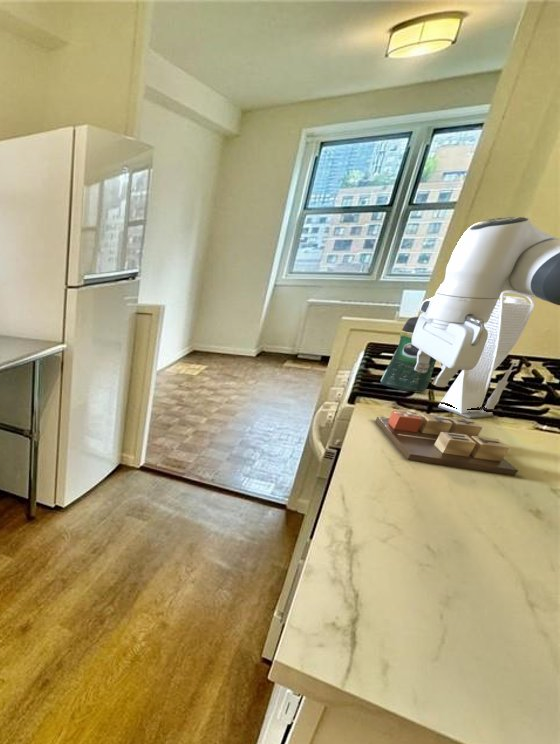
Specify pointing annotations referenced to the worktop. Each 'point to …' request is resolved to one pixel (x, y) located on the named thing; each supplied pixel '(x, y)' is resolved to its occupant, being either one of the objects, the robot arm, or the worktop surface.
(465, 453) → the tile
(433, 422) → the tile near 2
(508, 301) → the skyscraper
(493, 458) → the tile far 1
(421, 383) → the coffee jar
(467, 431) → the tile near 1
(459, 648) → the worktop surface
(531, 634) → the worktop surface
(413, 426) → the red toy block
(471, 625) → the worktop surface
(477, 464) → the board
